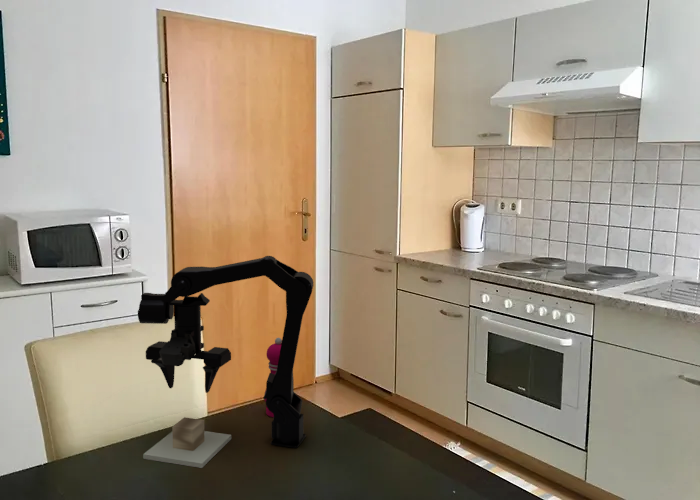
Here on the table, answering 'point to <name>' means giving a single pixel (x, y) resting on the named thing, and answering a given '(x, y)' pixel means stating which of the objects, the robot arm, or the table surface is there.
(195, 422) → the birch cube
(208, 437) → the sage plate
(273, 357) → the pepper mill
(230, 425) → the table surface
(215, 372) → the robot arm
